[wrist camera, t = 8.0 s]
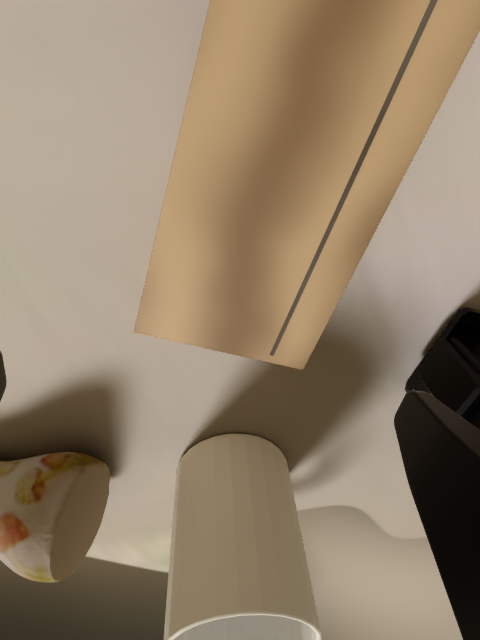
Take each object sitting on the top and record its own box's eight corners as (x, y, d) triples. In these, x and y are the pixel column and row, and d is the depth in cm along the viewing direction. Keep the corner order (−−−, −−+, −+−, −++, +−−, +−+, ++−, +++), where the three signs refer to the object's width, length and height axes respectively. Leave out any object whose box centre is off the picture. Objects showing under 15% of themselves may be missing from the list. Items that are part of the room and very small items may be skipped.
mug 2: (158, 449, 27) (134, 635, 18) (271, 418, 26) (303, 598, 17) (218, 540, 34) (222, 710, 25) (310, 517, 33) (348, 686, 24)
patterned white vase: (-70, 426, 25) (-83, 549, 17) (91, 400, 31) (137, 485, 23) (-60, 521, 27) (-67, 668, 20) (89, 482, 33) (129, 584, 25)
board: (569, -209, 12) (628, -253, 11) (296, 347, 23) (303, 370, 22) (302, -392, 10) (320, -482, 9) (139, 310, 21) (133, 333, 20)
